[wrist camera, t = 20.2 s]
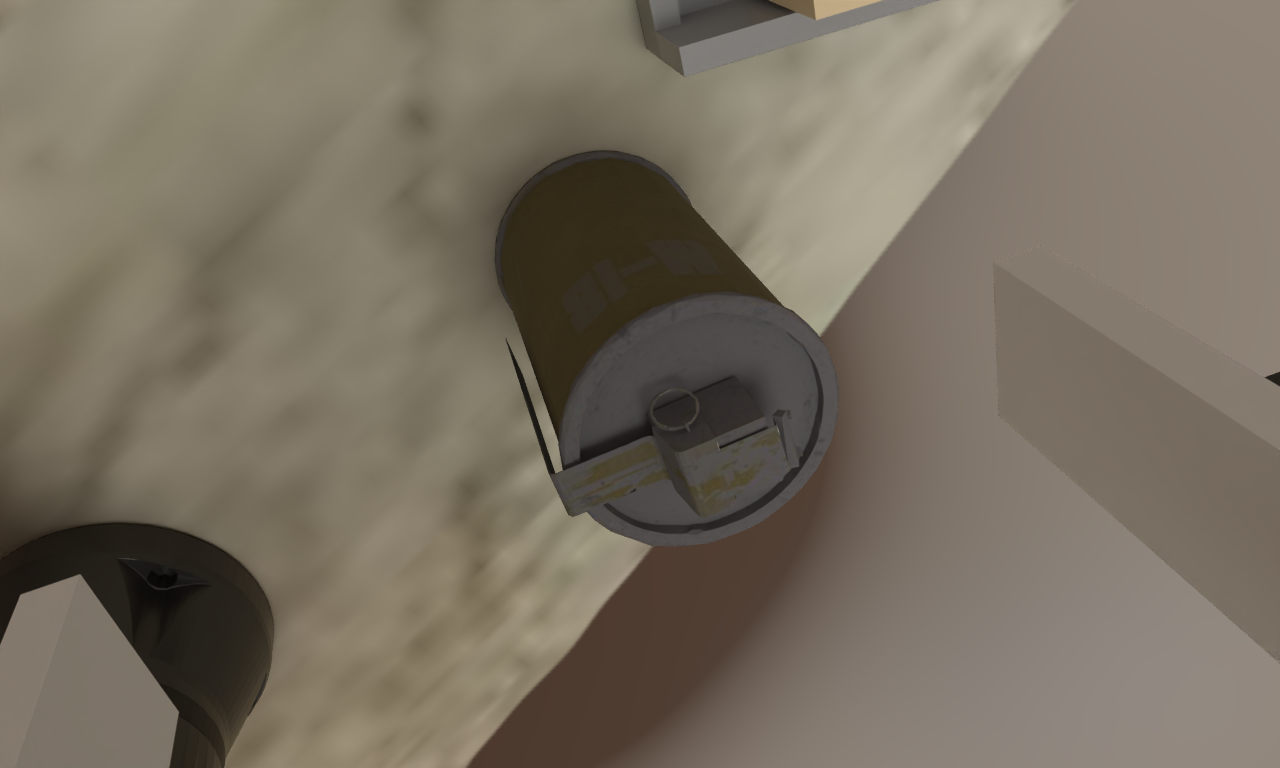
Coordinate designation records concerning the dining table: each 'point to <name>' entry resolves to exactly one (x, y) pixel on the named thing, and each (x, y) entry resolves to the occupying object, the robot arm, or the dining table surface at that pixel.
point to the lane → (739, 28)
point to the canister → (658, 356)
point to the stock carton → (822, 6)
